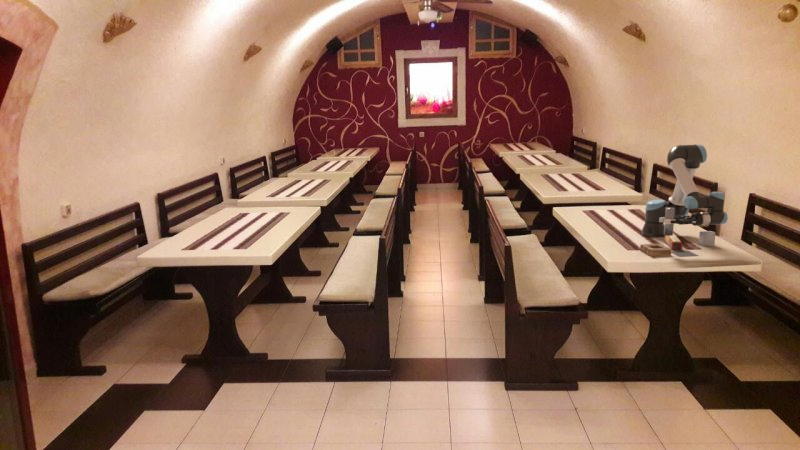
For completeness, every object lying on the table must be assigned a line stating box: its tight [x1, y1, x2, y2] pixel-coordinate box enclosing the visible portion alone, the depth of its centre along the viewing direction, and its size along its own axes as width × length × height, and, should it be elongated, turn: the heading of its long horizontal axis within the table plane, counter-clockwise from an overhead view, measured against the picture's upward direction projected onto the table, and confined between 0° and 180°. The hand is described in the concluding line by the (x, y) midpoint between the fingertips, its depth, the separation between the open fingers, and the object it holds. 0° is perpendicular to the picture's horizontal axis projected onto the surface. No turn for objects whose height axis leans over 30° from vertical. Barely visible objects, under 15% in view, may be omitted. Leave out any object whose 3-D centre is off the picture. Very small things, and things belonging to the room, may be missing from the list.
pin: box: [664, 207, 675, 236], centre depth 341 cm, size 5×5×16 cm
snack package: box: [663, 232, 683, 251], centre depth 361 cm, size 21×7×7 cm, turn 166°
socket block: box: [639, 243, 672, 258], centre depth 347 cm, size 14×12×4 cm
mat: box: [671, 250, 699, 258], centre depth 344 cm, size 12×12×1 cm
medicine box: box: [698, 230, 717, 247], centre depth 361 cm, size 8×4×9 cm, turn 92°
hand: (662, 220), depth 340 cm, fingers closed on pin, 5 cm apart
